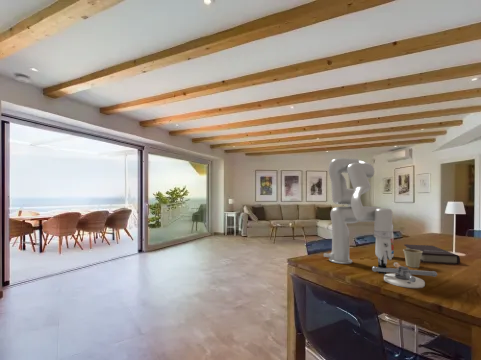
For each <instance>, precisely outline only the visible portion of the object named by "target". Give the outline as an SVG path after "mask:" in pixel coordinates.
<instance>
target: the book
mask: <svg viewBox="0 0 481 360" xmlns="http://www.w3.org/2000/svg"><path fill="white" fill-rule="evenodd" d="M403 245H404V247H406V248H405V249H414V250H420V251H422V252H423V253H422V255H421V259H420V263H421V262H422V263H424V264H425V263H427V264H441V265H442V264H443V265H444V264H445V265H459V264H461V258H460V256H459V255H458V254H456V253H453V252H450V251H448V250H445V249H443V248H441V247H437V246H435V245H427V244H424V245H423V244H403Z"/></svg>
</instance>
